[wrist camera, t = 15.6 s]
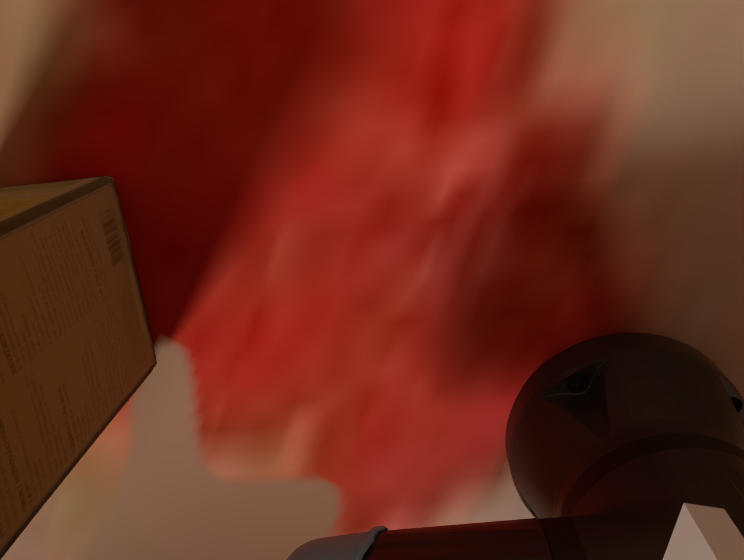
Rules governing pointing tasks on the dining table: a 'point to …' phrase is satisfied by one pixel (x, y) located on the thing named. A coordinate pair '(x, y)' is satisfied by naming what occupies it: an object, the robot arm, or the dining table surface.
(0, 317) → the food packaging
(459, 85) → the dining table surface
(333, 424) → the dining table surface
